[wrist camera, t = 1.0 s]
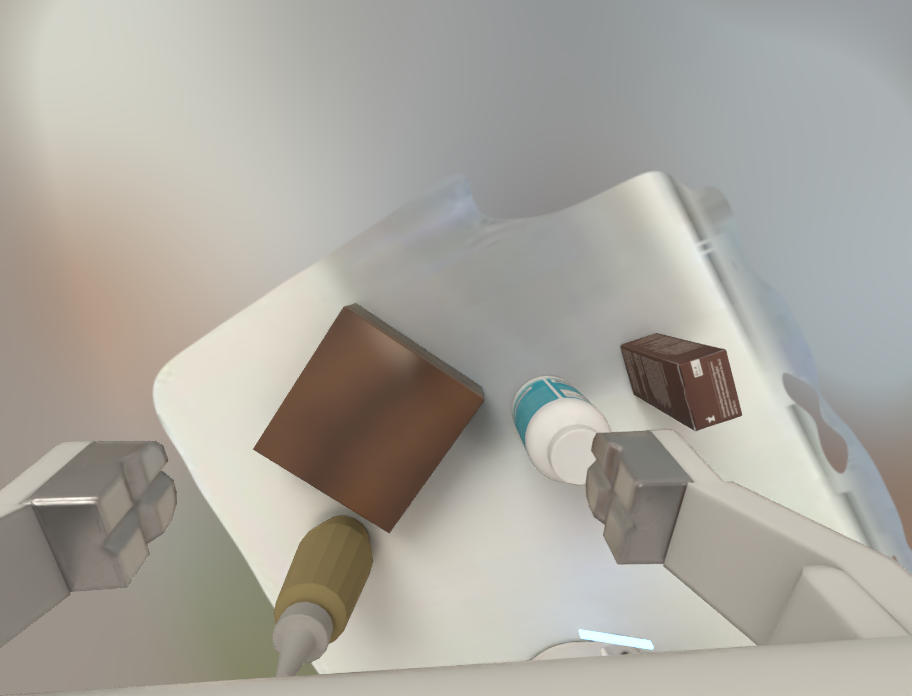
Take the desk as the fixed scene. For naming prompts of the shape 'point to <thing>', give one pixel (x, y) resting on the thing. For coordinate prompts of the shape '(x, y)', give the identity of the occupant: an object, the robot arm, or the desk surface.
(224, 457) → the desk surface
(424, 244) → the desk surface
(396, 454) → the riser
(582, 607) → the desk surface
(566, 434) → the pill bottle
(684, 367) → the box
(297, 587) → the squeeze bottle
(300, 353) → the desk surface
